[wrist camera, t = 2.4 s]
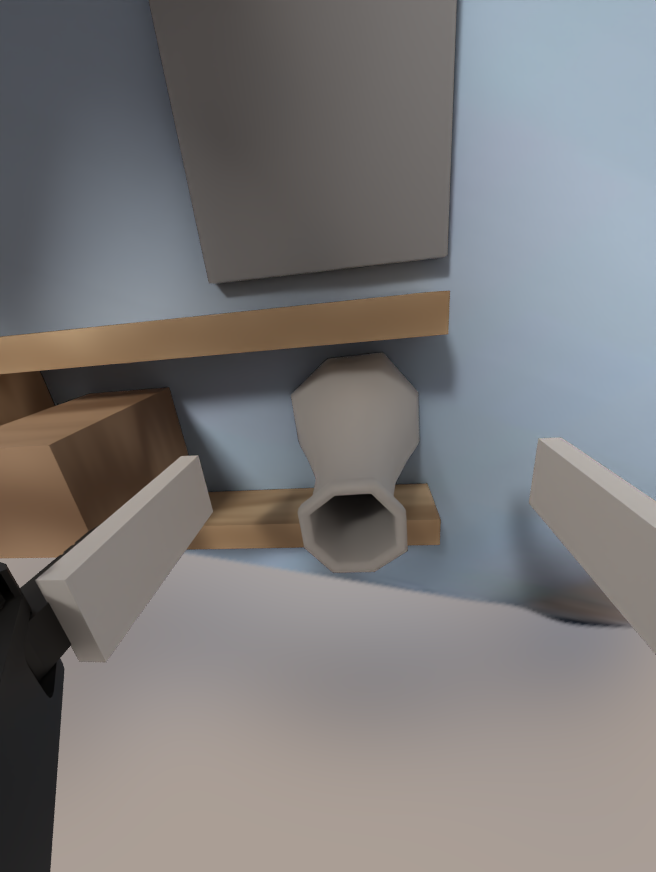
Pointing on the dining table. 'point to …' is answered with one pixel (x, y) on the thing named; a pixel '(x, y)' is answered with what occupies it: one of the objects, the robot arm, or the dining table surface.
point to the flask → (355, 460)
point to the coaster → (312, 130)
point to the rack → (225, 334)
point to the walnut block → (81, 466)
